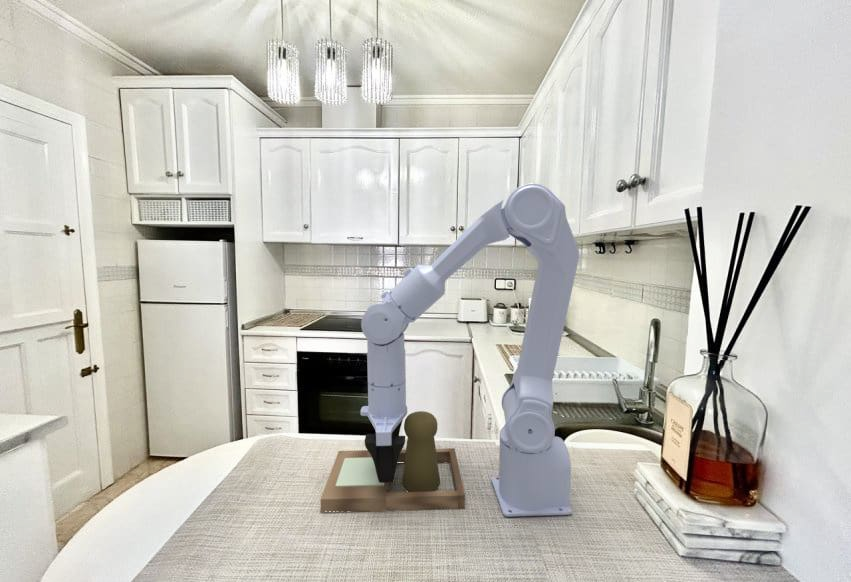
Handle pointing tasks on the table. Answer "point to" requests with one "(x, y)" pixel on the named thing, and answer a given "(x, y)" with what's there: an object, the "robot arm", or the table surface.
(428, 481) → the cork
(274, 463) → the table surface
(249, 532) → the table surface
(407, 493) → the well board
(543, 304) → the robot arm
